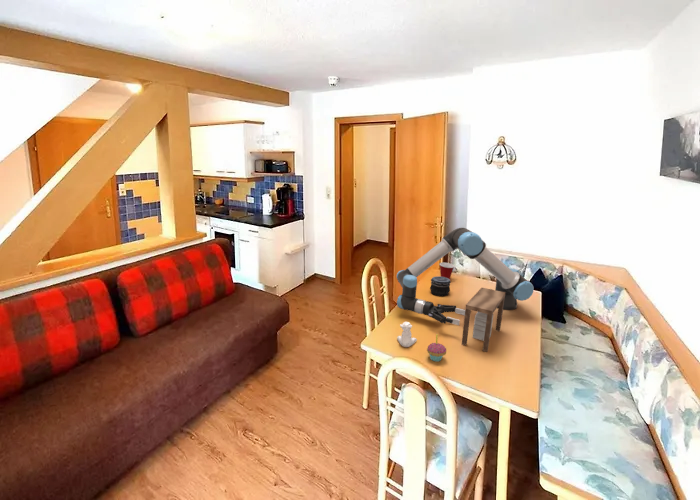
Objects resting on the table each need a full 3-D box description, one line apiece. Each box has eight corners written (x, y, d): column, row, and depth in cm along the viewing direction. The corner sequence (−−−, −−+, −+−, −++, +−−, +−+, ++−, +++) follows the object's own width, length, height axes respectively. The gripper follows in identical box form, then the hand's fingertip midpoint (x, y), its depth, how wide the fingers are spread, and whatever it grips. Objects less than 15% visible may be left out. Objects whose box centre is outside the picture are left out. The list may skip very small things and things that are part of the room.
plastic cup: (453, 283, 267) (455, 267, 264) (438, 282, 269) (439, 266, 266) (452, 278, 277) (454, 262, 274) (437, 277, 279) (439, 261, 276)
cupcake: (424, 354, 175) (426, 330, 172) (442, 353, 176) (444, 329, 172) (429, 364, 167) (431, 339, 163) (448, 363, 167) (450, 339, 164)
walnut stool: (461, 344, 184) (465, 304, 178) (477, 323, 206) (481, 287, 201) (486, 352, 178) (492, 311, 172) (500, 329, 200) (505, 292, 195)
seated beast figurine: (416, 341, 186) (418, 318, 183) (415, 350, 178) (417, 326, 175) (397, 338, 188) (398, 316, 185) (395, 347, 180) (396, 324, 177)
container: (437, 288, 257) (438, 274, 254) (453, 293, 248) (455, 279, 245) (425, 292, 249) (426, 278, 246) (442, 298, 240) (443, 283, 237)
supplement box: (476, 332, 197) (479, 309, 194) (491, 336, 193) (494, 313, 190) (471, 337, 191) (474, 314, 188) (486, 342, 187) (490, 318, 184)
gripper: (432, 306, 217) (469, 316, 206) (414, 322, 197) (454, 333, 186) (433, 294, 215) (471, 303, 204) (415, 308, 195) (456, 319, 184)
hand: (463, 317), depth 195 cm, fingers open, 13 cm apart
